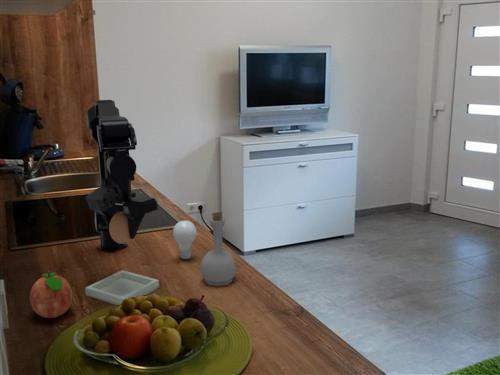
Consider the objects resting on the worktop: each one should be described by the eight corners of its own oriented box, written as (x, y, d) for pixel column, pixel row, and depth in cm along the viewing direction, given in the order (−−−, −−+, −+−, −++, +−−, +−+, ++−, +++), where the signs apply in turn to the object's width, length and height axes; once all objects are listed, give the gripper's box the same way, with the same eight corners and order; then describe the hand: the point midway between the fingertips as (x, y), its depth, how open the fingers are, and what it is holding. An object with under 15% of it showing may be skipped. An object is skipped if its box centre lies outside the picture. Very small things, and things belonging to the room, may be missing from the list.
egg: (105, 245, 125) (102, 213, 123) (119, 238, 130) (117, 207, 129) (126, 248, 123) (124, 215, 121) (140, 240, 128) (138, 209, 127)
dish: (85, 295, 123) (85, 287, 122) (122, 277, 133) (122, 270, 132) (123, 307, 117) (122, 299, 116) (159, 287, 127) (158, 280, 126)
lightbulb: (193, 264, 141) (191, 225, 138) (170, 262, 142) (169, 223, 140) (200, 255, 147) (198, 218, 144) (178, 254, 148) (177, 216, 146)
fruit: (32, 328, 108) (27, 283, 106) (31, 308, 117) (26, 266, 114) (76, 319, 112) (72, 276, 109) (71, 301, 120) (67, 260, 118)
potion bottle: (210, 290, 125) (207, 218, 121) (196, 277, 133) (193, 208, 128) (242, 283, 129) (241, 213, 125) (227, 270, 137) (226, 204, 132)
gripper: (62, 175, 121) (69, 240, 124) (122, 183, 111) (127, 253, 115) (99, 167, 130) (104, 228, 133) (157, 174, 121) (161, 238, 124)
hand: (122, 236), depth 126 cm, fingers closed on egg, 6 cm apart
